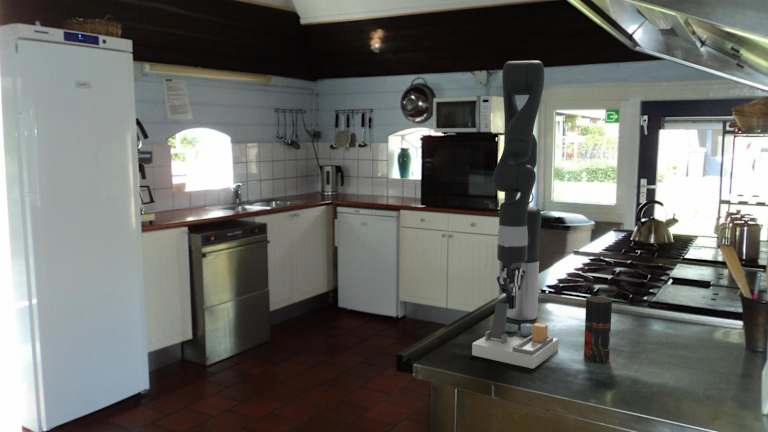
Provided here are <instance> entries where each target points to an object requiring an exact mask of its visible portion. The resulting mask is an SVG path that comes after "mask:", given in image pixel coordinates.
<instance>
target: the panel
mask: <svg viewBox="0 0 768 432" xmlns="http://www.w3.org/2000/svg"><path fill="white" fill-rule="evenodd" d="M490 336H491V330H487V331H485V333H484V336H482V338H480V339H479V338H478V340H475V341H474V342H472V344H471V346H472V347H471V353H472V354H471V355H472V356H475V357H479V358H484V359H488V360H493V361H498V362H502V363H506V364H510V365H516V366H520V367H524V368H528V369H532V370H533V369H535V368H537V366H539V365H540V364H542V363H544V361H546V360H547V359H548V358H550V357H551V356H552V355H554V354H555V353H556V352H558V351H559V338H557V337H553V336H551V335H547V340H545V341H544V342H537V341H532V335H531V336H523V335H521V334H520V330H518V331H515V332H509V331H504V335H502V336H501V340H500V339H495V338H491V337H490Z"/></svg>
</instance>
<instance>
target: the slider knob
mask: <svg viewBox="0 0 768 432" xmlns="http://www.w3.org/2000/svg"><path fill="white" fill-rule="evenodd" d="M532 325H533V326H532V341H537V342H544V341H545V340H547V336H548V329H549V328H548V325H549V324H545V323H540V322H536V323H533V324H532Z"/></svg>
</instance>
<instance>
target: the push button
mask: <svg viewBox="0 0 768 432" xmlns="http://www.w3.org/2000/svg"><path fill="white" fill-rule="evenodd" d="M532 326H533V324H532V323H527V322H526V323H525V322H524V323H521V324H520V330H519V331H520V334H521V335H523V336H531V335H532Z"/></svg>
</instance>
